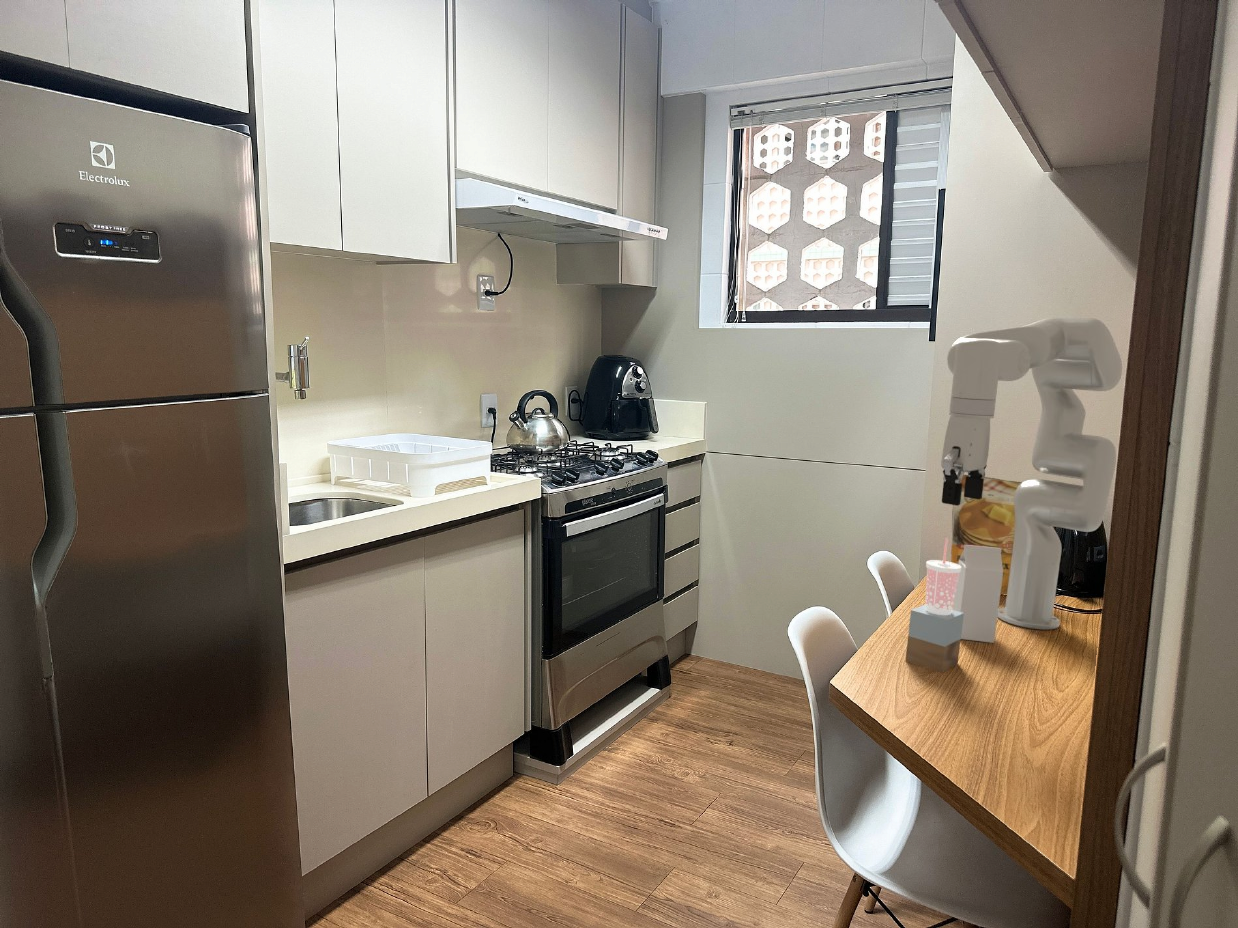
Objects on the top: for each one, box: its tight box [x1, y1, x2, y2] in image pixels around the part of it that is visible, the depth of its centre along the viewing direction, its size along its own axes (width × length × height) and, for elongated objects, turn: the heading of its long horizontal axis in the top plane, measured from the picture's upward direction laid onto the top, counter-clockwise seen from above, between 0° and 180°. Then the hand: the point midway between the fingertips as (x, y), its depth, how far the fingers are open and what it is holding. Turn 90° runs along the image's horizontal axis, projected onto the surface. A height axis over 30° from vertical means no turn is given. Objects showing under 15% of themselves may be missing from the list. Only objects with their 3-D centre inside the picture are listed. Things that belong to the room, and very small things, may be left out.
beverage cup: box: [924, 537, 962, 615], centre depth 155 cm, size 6×6×14 cm
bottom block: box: [904, 635, 962, 673], centre depth 157 cm, size 7×7×5 cm
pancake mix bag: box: [950, 474, 1022, 594], centre depth 208 cm, size 7×19×28 cm, turn 55°
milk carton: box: [952, 545, 1003, 644], centre depth 172 cm, size 7×7×19 cm
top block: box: [907, 604, 964, 647], centre depth 156 cm, size 7×7×5 cm
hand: (961, 501), depth 154 cm, fingers open, 9 cm apart
